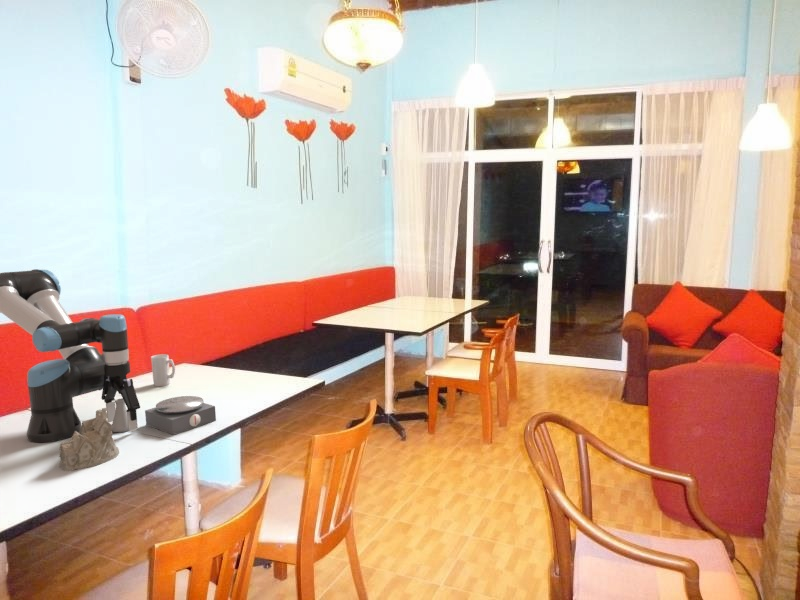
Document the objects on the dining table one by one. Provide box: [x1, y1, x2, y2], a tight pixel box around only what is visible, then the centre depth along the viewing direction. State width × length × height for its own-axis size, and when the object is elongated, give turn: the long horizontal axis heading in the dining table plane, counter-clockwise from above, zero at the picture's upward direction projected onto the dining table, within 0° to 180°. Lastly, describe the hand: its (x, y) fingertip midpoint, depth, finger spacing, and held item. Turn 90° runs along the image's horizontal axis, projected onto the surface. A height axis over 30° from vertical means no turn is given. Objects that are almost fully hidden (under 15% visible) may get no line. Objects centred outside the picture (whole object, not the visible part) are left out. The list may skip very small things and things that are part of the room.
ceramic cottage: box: [58, 407, 120, 472], centre depth 168 cm, size 16×16×15 cm
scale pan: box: [155, 395, 205, 413], centre depth 195 cm, size 15×15×1 cm
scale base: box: [144, 402, 217, 436], centre depth 196 cm, size 16×16×6 cm
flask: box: [111, 398, 129, 433], centre depth 191 cm, size 7×7×10 cm
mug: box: [150, 353, 176, 387], centre depth 241 cm, size 10×7×12 cm, turn 76°
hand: (122, 425), depth 191 cm, fingers open, 13 cm apart
